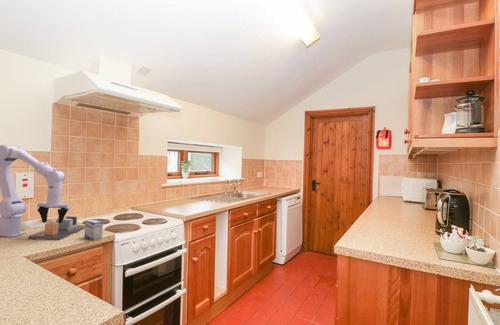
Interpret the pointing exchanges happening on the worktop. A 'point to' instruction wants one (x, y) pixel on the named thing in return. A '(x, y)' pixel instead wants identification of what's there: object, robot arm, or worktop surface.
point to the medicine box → (93, 229)
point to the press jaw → (67, 222)
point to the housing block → (51, 228)
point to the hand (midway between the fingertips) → (52, 222)
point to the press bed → (60, 235)
